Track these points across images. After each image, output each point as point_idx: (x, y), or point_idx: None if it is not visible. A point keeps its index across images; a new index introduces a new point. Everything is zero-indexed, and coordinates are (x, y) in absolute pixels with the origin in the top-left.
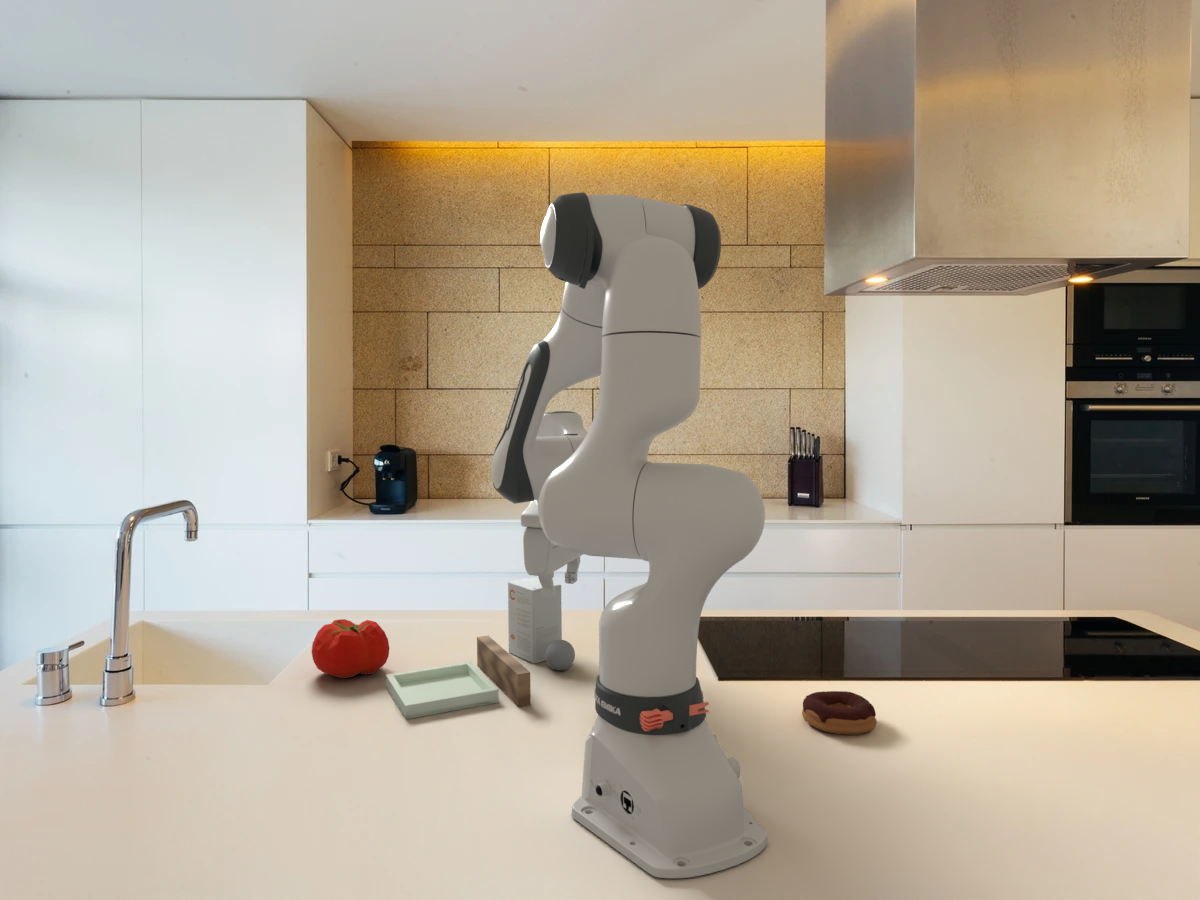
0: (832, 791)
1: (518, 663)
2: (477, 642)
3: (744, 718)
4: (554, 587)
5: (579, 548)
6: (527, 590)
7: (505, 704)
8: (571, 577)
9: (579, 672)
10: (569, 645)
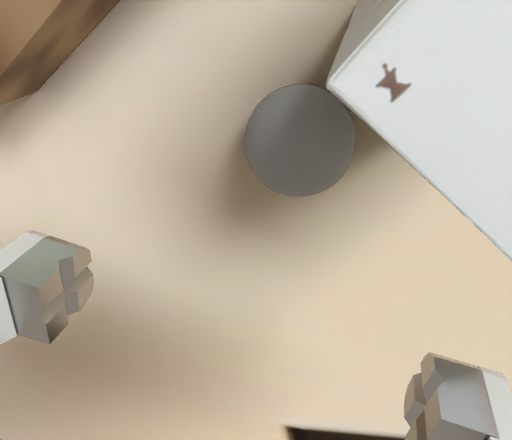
0: (5, 434)
1: (5, 58)
2: None
3: (138, 418)
4: (31, 332)
5: None
6: (393, 4)
7: None
8: (412, 425)
9: None
10: (284, 192)
